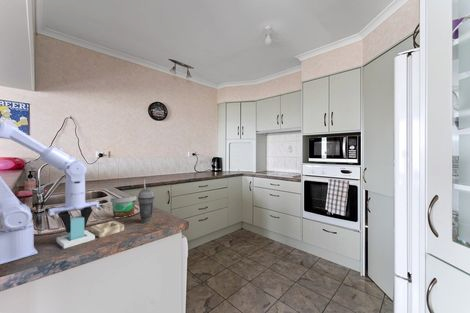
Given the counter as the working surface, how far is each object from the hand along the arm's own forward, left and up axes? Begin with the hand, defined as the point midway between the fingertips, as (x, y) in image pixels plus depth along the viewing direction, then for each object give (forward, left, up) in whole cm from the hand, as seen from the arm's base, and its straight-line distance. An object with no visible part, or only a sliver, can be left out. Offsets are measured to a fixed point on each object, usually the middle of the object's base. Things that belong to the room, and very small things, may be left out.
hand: (75, 230), depth 73 cm
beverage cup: (+27, -2, -4) cm, 27 cm away
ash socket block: (+11, 0, -4) cm, 11 cm away
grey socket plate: (0, 0, -4) cm, 4 cm away
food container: (+24, +15, -4) cm, 28 cm away
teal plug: (0, 0, -3) cm, 3 cm away
